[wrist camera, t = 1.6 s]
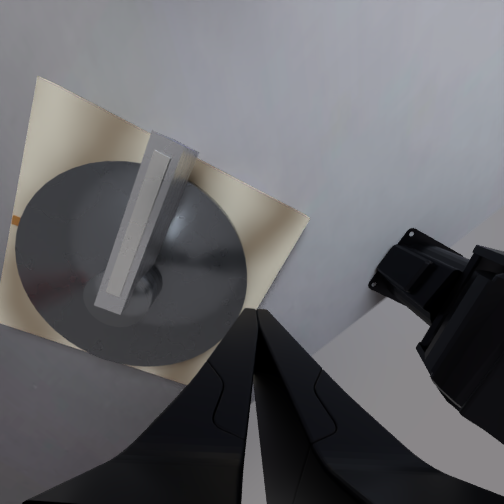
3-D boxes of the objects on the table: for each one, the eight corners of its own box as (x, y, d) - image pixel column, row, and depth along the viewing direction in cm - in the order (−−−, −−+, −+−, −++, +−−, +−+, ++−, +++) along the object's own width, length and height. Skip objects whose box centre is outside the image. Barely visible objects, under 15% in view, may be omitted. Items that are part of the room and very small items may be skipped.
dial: (199, 378, 23) (187, 437, 18) (12, 315, 20) (-65, 364, 15) (297, 204, 18) (319, 218, 13) (62, 79, 14) (-34, 32, 9)
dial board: (305, 214, 20) (310, 218, 18) (209, 379, 25) (207, 392, 24) (55, 83, 16) (36, 75, 14) (9, 311, 22) (-8, 321, 20)
